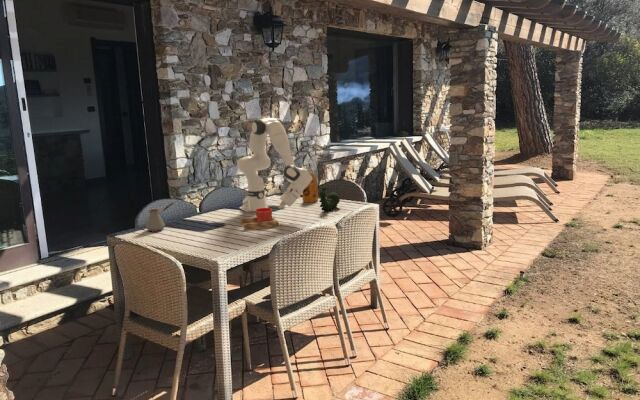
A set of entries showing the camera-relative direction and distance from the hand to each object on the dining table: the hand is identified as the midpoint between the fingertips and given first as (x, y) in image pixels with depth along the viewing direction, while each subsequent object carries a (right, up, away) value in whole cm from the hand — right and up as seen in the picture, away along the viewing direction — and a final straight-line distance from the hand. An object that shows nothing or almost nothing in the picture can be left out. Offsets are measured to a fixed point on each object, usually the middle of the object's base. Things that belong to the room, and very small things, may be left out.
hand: (279, 208), depth 314 cm
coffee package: (+18, +4, +66) cm, 68 cm away
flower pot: (-9, -11, 0) cm, 14 cm away
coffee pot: (-74, -13, +2) cm, 76 cm away
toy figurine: (+33, -2, +34) cm, 47 cm away
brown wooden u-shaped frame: (-13, -11, -1) cm, 17 cm away
